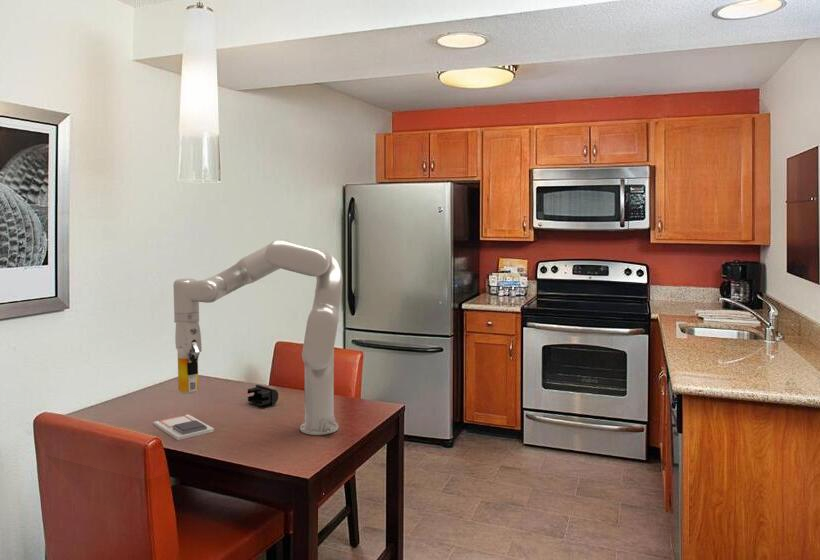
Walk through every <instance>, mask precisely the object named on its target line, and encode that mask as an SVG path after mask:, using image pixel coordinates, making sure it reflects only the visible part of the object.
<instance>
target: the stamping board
mask: <svg viewBox="0 0 820 560" xmlns="http://www.w3.org/2000/svg"><path fill="white" fill-rule="evenodd" d="M153 425H154V426H155V427H157V428H158V429H159V430H161V431H163V432H164V433H166V434H167V435H169V436H170V437H172V438H174V439H175V440H176V441H180V440H185V439H188V438H192V437H193V438H194V437H197V436H201V435H206V434H209V433H210V434H211V433H214V432H215V428H214V427H212V426H210V425H208V424H207V423H204V422H203V421H201V420H199V419H197V418H196V417H194V416H192V415H191V414H183V415H180V416H173V417H169V418H165V419H164V418H163V419H161V420H156V421H153Z"/></svg>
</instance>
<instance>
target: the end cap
mask: <svg viewBox="0 0 820 560" xmlns="http://www.w3.org/2000/svg"><path fill="white" fill-rule="evenodd" d="M252 393H253V394H252ZM247 394H252V395H249V396H247V401H248V404H249V406H252V407H254V408H258V409H261V410H265V408H266V409H269V408H272V407H274V405H275V404H276V403H277V402H278V401H279V393H278V391H277V390H276V389H274V388H271V387H267V386H264V385H260V384H255V387H251V388H248V389H247Z"/></svg>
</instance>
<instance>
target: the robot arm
mask: <svg viewBox="0 0 820 560" xmlns="http://www.w3.org/2000/svg"><path fill="white" fill-rule="evenodd" d="M340 266H341V265H340V264H339V262H338V260H337V259H336V258H335V257H334V256H333V255H332V254H331V253H330V252H328V251H327V250H325V249H322V248H318V247H316V248H311V247H306V246H303V245H298V244H295V243H291V242H290V241H289V240H287V239H283V238H281V239H275V240H273V241H271V242H270V243H269V244H267V245H265V246H263V247H261V248H259V249H258V250H256V251H254V252H252V253H250V254H248V255H246V256H244V257H242V258H240V259H239V260H238V261H237V262H236V263H235V264H234V265H232V266H230V267H228V268H227V269H225V270H222V271H221V272H219V273H217V274H215V275H213V276H212V277H208V278H206V279H201V280H197V279H195V278H180V279H176V280H174V281H173V310H174V311H173V315H174V317H173V318H174V323H175V336H174V337H175V342H174V344H175V349H176V350H177V351H178V348H179V347H180V348H183V350H184V353H186V354H187V357H188V362H189V363H187V374H188V375H194V374H197V373H198V374H199V357H200V353H201V352H202V334H201V327H200V303H203V304H204V303H206V304H209V303H214V302H216V301H218V300H219V299H222V298H223V297H225V296H227V295H228V294H229V295H230V294H231V293H232V292H235V291H237V290H238V289H240V288H242V287H244V286H247V285H249V284H254V283H255V282H257V281H260V280H261V279H263V278H265V277H267V276H268V275H270V274H273V273H274V272H276V271H278V270H280V269H282V270H284V271H289V272H293V273H296V274H297V273H298V274H301V275H304V276H309V277H314V278H315V277H316V285H315V290H314V297H313V304H312V308H311V311H310V312H309V314H308V317H307V320H306V327H305V334H304V340H303V345H302V351H301V359H302V361H303V362H302V363H304V422H303V423H302V424H301V425H300V427H299V430H300V431H301V433H303V434H305V435H310V436H322V435H323V436H324V435H330V434H333V433H335V432H337V431H338V430H339V423H338V422H336V418H335V415H334V413H335V412H334V411H335V409H334V408H335V407H334V405H335V403H334V402H335V398H334V397H335V395H334V393H335V392H334V388H335V387H334V386H335V385H334V382H335V379H334V378H335V376H334V373H335V372H334V371H335V370H334V369H335V365H334V364H335V343H336V337H337V333H338V325H339V319H340V317H339V312H340V311H339V310H340V304H341V299H342V298H341V297H342V291H343V272H342V269H341V267H340ZM190 351H194V352H191V353H190ZM190 355H192V357H191V356H190Z"/></svg>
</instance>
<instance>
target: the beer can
mask: <svg viewBox="0 0 820 560" xmlns="http://www.w3.org/2000/svg"><path fill="white" fill-rule="evenodd" d="M191 352H194V351H190V353H191ZM190 356H191V357H192V355H190ZM187 363H189V362H188V357H187V354H186V353H184V350H183V348H180V347H179V348H178V350H177V375H178V376H177V380H178V382H177V383H178V391H179V393H180V394H182V395H191V394H194V393H195V394H196V393H197V391H198V390H199V372H198V373H197V374H194V375H188V374H187Z"/></svg>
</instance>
